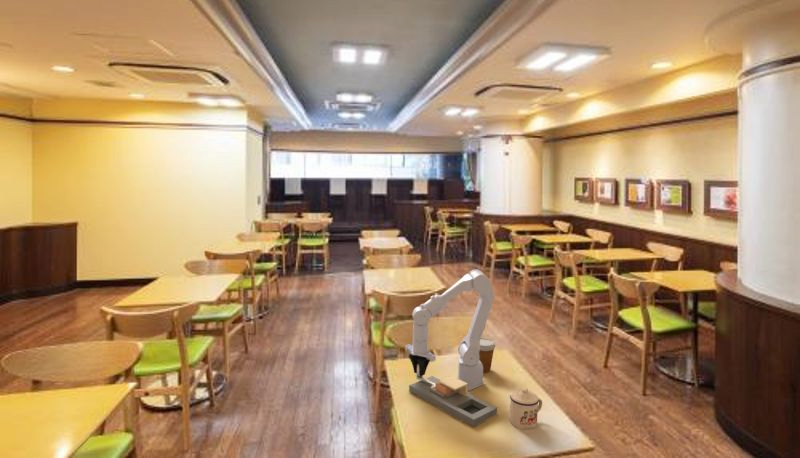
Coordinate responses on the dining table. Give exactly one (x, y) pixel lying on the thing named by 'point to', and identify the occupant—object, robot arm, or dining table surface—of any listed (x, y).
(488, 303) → the robot arm
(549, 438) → the dining table surface
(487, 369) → the disposable coffee cup
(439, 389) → the terracotta block
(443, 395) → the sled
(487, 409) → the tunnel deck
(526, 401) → the teacup with lid
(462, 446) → the dining table surface
